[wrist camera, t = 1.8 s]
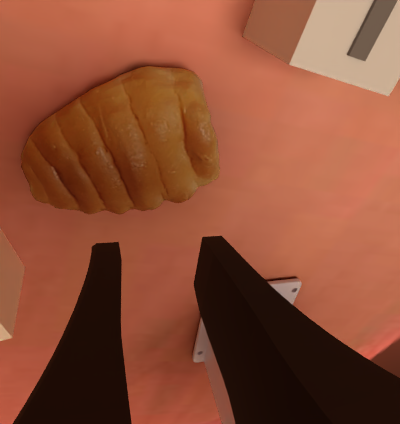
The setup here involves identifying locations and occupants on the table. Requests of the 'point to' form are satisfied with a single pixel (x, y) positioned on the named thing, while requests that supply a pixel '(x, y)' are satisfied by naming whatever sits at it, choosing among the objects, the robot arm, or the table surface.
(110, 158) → the pastry
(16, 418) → the robot arm
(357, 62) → the marked block grey
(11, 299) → the marked block cream
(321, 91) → the table surface
